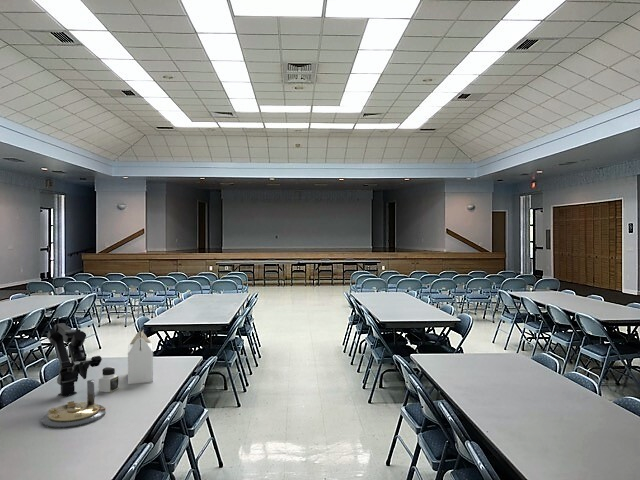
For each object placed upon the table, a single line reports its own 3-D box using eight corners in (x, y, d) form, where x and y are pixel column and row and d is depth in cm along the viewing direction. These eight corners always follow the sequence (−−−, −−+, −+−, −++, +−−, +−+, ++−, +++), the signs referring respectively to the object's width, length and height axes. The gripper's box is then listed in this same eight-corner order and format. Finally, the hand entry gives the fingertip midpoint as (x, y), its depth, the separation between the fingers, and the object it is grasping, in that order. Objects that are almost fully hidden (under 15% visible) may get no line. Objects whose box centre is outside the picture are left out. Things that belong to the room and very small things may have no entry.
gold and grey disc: (28, 422, 216) (28, 417, 216) (78, 403, 240) (78, 399, 240) (69, 432, 205) (69, 427, 205) (117, 411, 229) (117, 407, 229)
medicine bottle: (110, 392, 257) (110, 369, 257) (98, 391, 258) (98, 369, 258) (118, 388, 264) (118, 366, 264) (107, 387, 265) (106, 365, 265)
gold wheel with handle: (70, 425, 209) (70, 396, 208) (37, 417, 217) (37, 389, 217) (109, 409, 228) (109, 382, 228) (77, 402, 236) (77, 377, 236)
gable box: (153, 382, 275) (152, 332, 275) (127, 384, 271) (127, 334, 270) (152, 371, 296) (152, 325, 296) (128, 373, 292) (128, 327, 291)
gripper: (91, 358, 254) (100, 383, 247) (52, 364, 241) (60, 392, 233) (97, 345, 249) (106, 371, 241) (58, 351, 235) (66, 379, 228)
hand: (85, 378), depth 236 cm, fingers closed
